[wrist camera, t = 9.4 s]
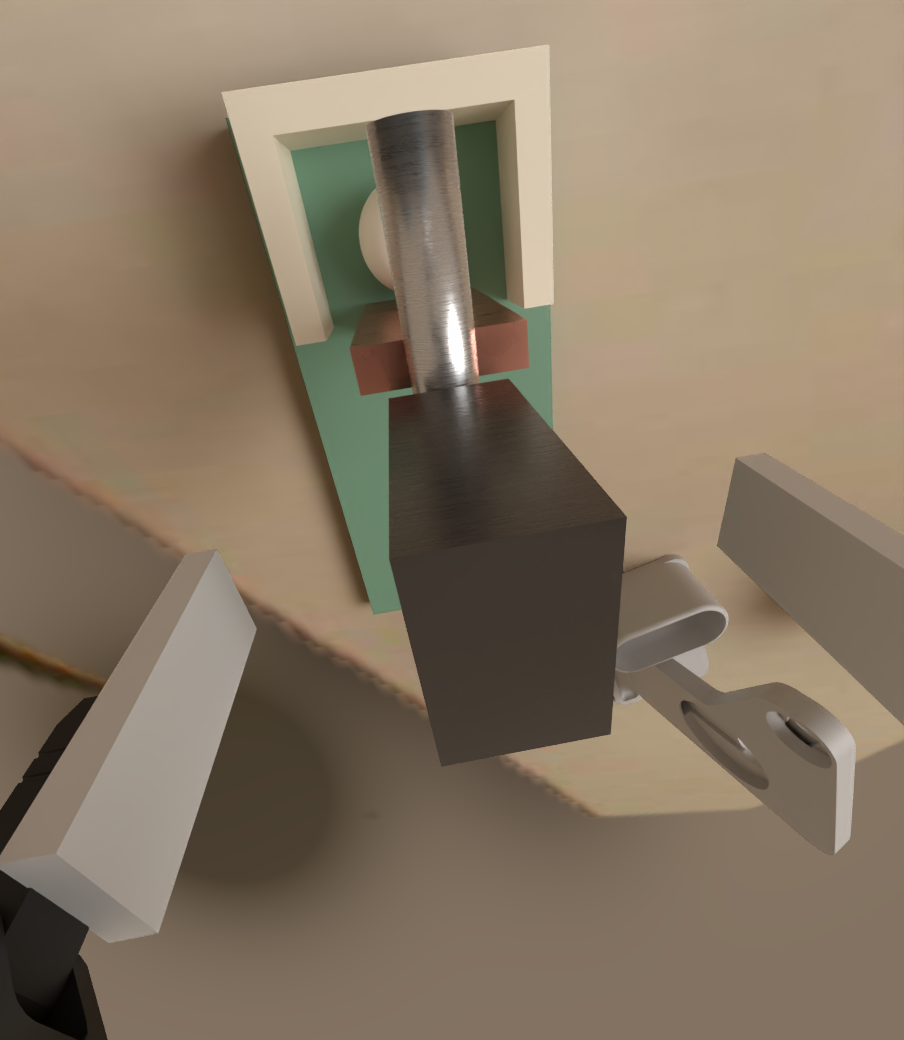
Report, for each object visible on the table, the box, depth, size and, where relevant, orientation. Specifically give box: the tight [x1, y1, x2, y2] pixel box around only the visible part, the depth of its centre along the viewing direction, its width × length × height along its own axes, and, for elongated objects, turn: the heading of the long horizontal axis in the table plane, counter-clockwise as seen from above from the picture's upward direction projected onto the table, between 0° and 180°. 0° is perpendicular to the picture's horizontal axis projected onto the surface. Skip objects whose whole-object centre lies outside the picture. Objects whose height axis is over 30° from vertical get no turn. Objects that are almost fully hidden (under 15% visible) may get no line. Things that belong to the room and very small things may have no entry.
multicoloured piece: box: [350, 110, 627, 766], centre depth 17 cm, size 13×6×22 cm, turn 8°
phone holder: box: [613, 555, 856, 855], centre depth 37 cm, size 17×10×18 cm, turn 24°
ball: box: [359, 188, 394, 291], centre depth 23 cm, size 5×5×5 cm
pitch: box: [221, 44, 554, 614], centre depth 29 cm, size 31×15×6 cm, turn 8°
